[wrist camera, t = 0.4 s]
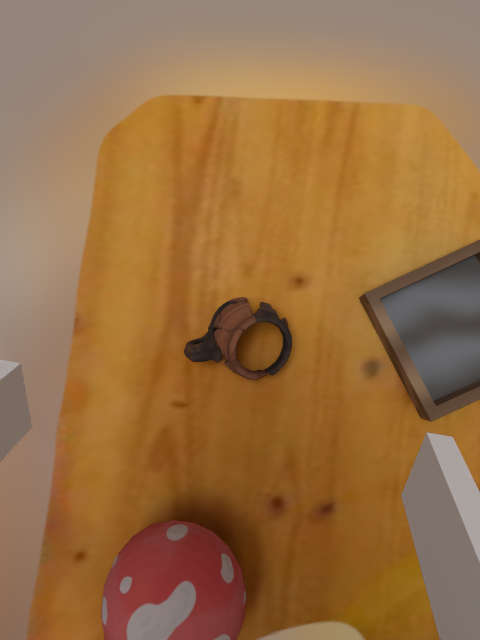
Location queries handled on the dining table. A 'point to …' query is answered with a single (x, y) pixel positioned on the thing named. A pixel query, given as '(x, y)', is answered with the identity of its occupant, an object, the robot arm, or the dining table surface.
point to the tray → (433, 330)
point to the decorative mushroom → (174, 587)
